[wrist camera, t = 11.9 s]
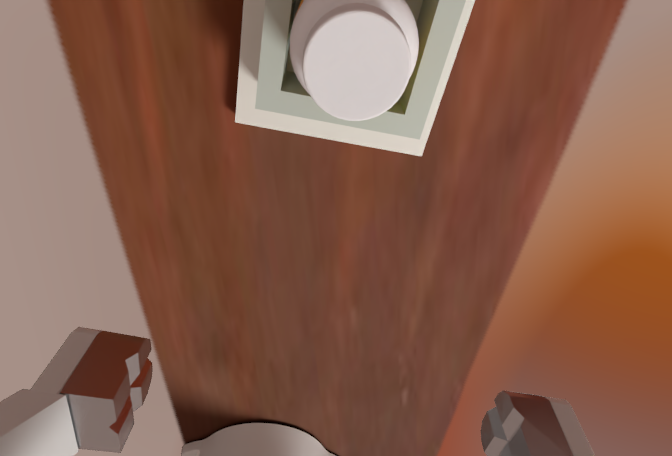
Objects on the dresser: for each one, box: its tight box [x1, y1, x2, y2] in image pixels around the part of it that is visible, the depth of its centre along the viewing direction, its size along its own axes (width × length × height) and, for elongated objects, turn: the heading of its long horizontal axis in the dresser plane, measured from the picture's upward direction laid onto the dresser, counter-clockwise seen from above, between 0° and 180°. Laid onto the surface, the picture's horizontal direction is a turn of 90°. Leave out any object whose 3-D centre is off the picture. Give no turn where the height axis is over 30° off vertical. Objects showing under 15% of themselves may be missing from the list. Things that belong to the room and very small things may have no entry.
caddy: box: [235, 0, 475, 156], centre depth 23 cm, size 14×12×4 cm
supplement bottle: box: [290, 0, 419, 121], centre depth 20 cm, size 5×5×10 cm
